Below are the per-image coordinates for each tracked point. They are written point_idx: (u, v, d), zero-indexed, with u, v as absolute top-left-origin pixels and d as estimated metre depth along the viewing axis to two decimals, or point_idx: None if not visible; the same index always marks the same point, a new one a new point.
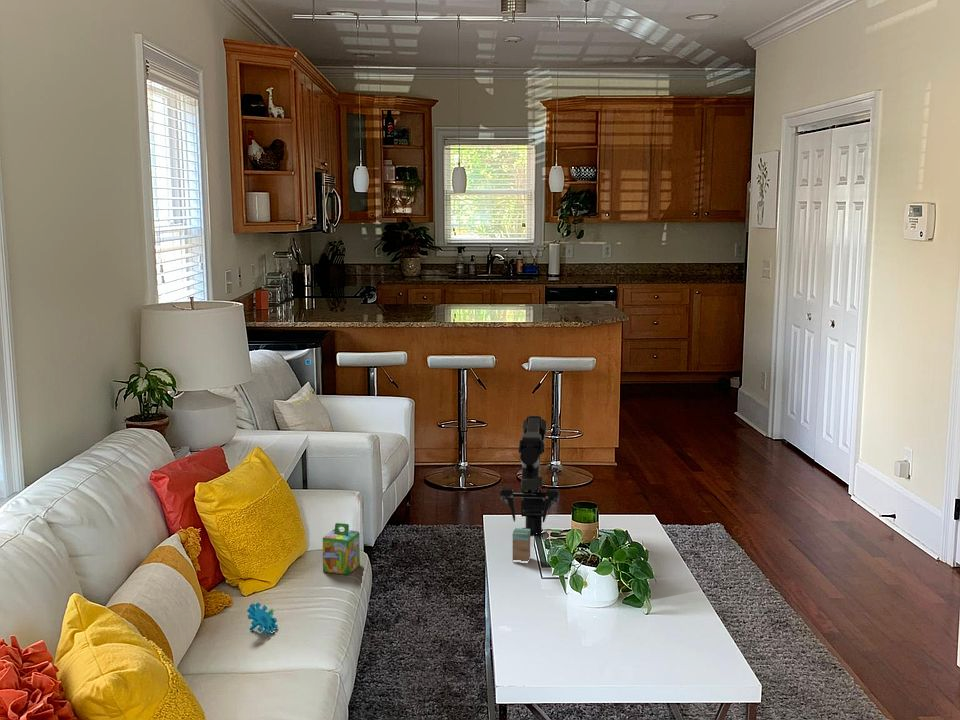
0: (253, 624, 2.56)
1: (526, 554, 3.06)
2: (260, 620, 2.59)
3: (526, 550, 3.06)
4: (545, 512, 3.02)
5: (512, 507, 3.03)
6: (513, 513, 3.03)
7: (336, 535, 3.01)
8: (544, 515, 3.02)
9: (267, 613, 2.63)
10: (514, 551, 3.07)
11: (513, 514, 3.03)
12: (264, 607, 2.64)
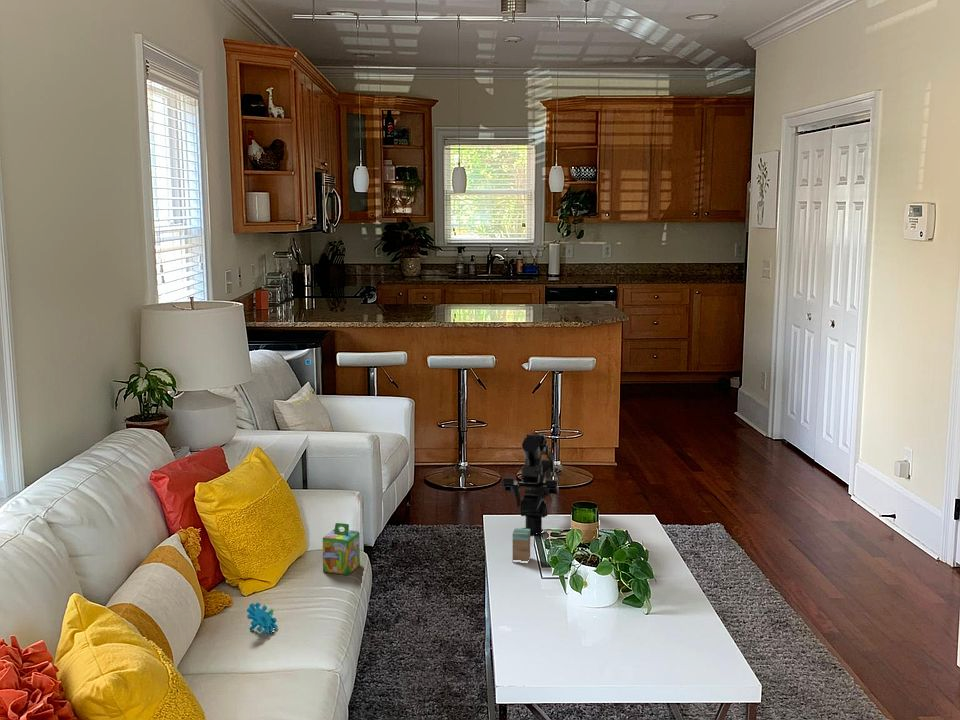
0: (252, 624, 2.56)
1: (526, 554, 3.06)
2: (260, 620, 2.59)
3: (526, 550, 3.06)
4: (539, 499, 3.19)
5: (517, 494, 3.21)
6: (517, 500, 3.20)
7: (336, 535, 3.01)
8: (538, 502, 3.19)
9: (267, 613, 2.63)
10: (514, 551, 3.07)
11: (517, 501, 3.20)
12: (264, 607, 2.64)
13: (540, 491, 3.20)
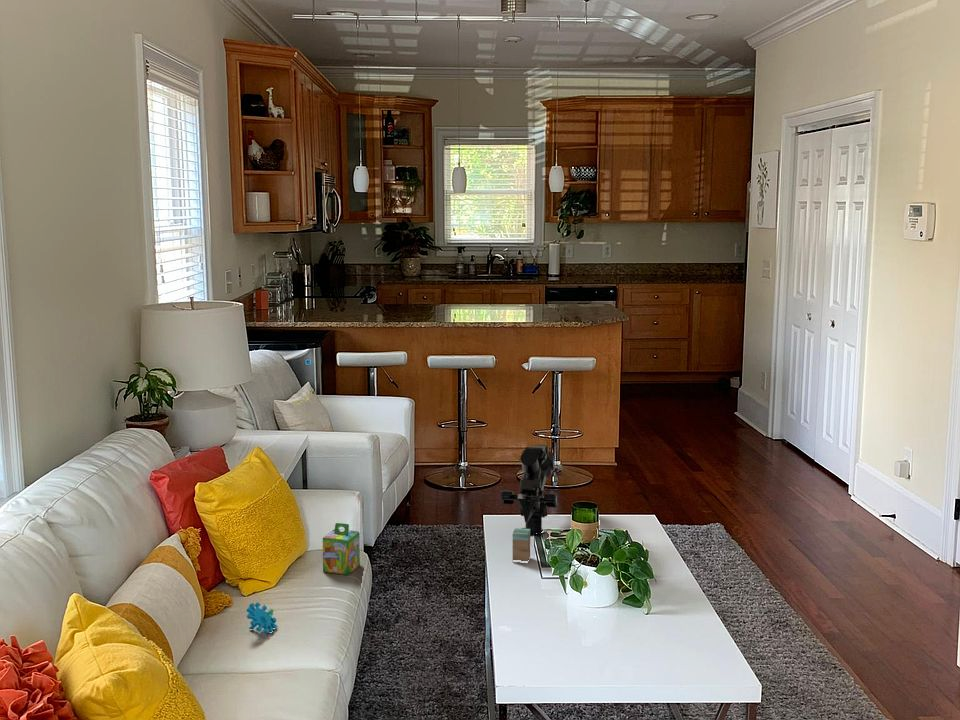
0: (252, 624, 2.56)
1: (526, 554, 3.06)
2: (259, 620, 2.59)
3: (526, 550, 3.06)
4: (529, 512, 3.17)
5: (524, 508, 3.18)
6: (525, 514, 3.17)
7: (336, 535, 3.01)
8: (528, 515, 3.17)
9: (267, 613, 2.63)
10: (514, 551, 3.07)
11: (525, 515, 3.17)
12: (264, 607, 2.64)
13: (530, 504, 3.18)
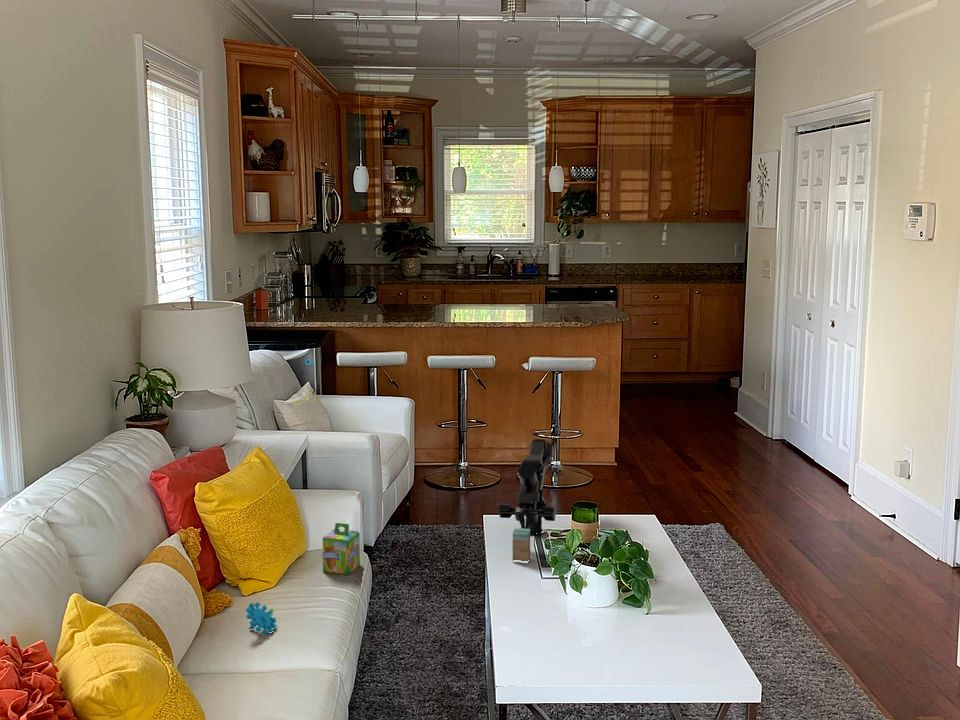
0: (251, 624, 2.56)
1: (526, 554, 3.06)
2: (259, 620, 2.59)
3: (526, 550, 3.06)
4: (527, 526, 3.14)
5: (522, 522, 3.14)
6: (522, 527, 3.14)
7: (336, 535, 3.01)
8: None
9: (266, 613, 2.63)
10: (514, 551, 3.07)
11: (522, 528, 3.13)
12: (264, 607, 2.64)
13: (528, 517, 3.14)
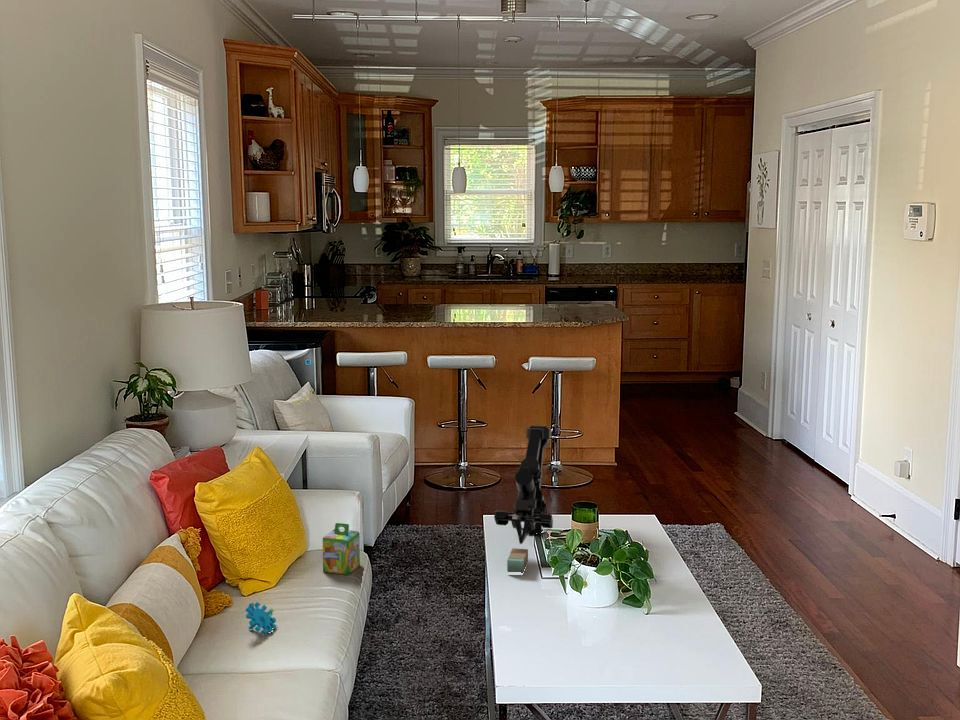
0: (251, 624, 2.56)
1: None
2: (258, 620, 2.59)
3: None
4: (524, 533, 3.07)
5: (519, 529, 3.08)
6: (519, 535, 3.07)
7: (336, 535, 3.01)
8: (522, 536, 3.07)
9: (266, 613, 2.63)
10: None
11: (519, 536, 3.07)
12: (263, 607, 2.64)
13: (525, 525, 3.08)
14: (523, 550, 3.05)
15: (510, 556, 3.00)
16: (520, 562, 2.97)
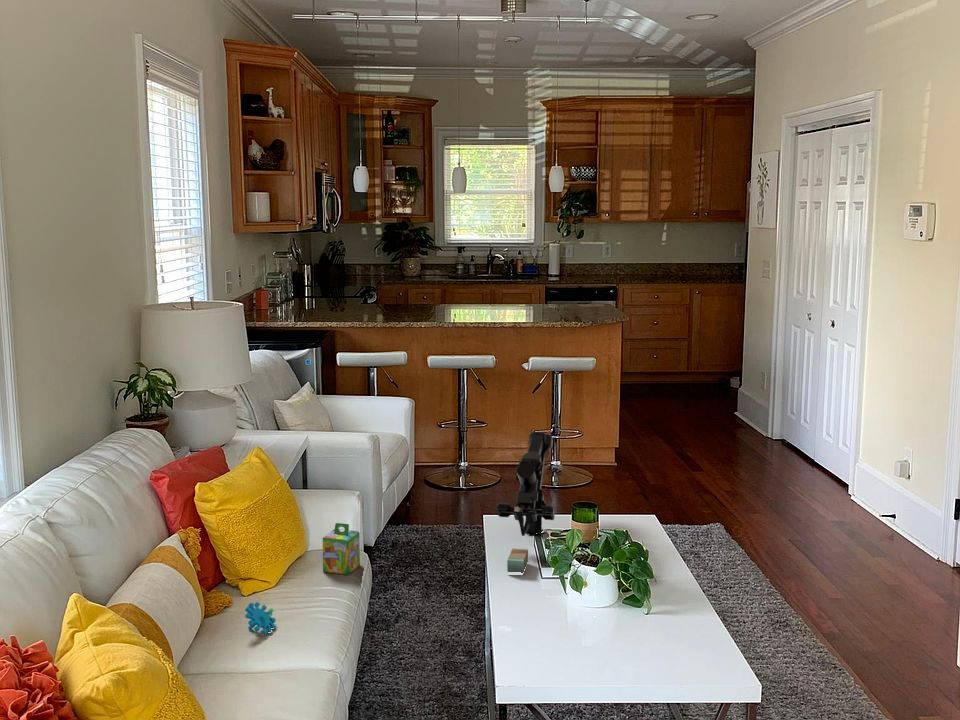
0: (250, 623, 2.56)
1: None
2: (258, 620, 2.59)
3: None
4: (526, 526, 3.11)
5: (521, 521, 3.12)
6: (521, 527, 3.11)
7: (336, 535, 3.01)
8: (524, 528, 3.11)
9: (266, 613, 2.63)
10: None
11: (521, 528, 3.11)
12: (263, 607, 2.64)
13: (527, 517, 3.12)
14: (523, 550, 3.05)
15: (510, 556, 3.00)
16: (520, 562, 2.97)
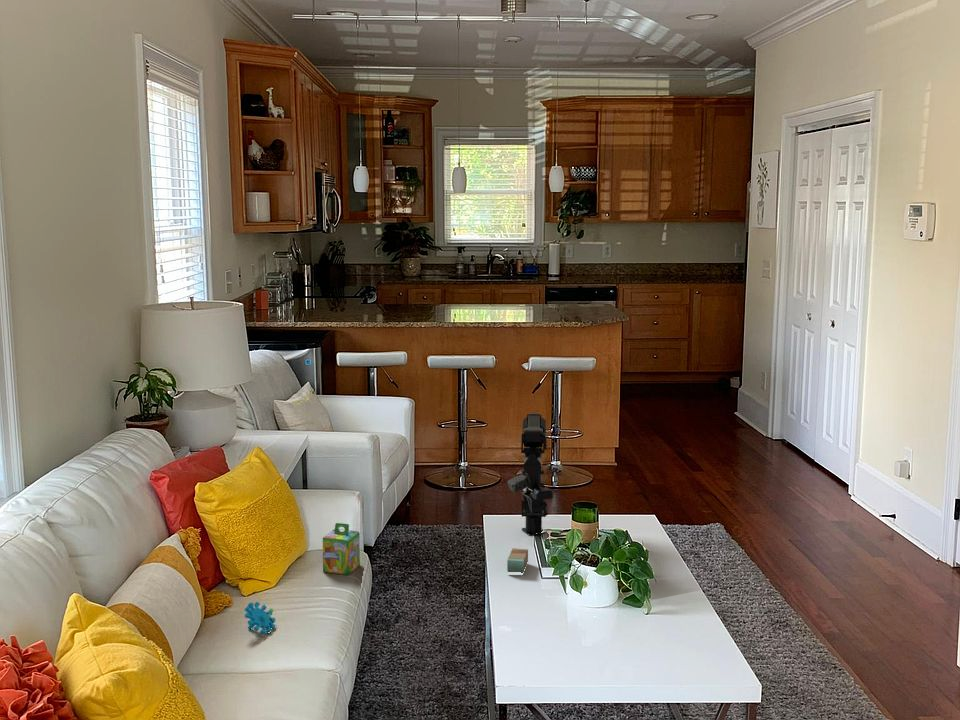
0: (249, 623, 2.56)
1: None
2: (257, 619, 2.59)
3: None
4: (531, 505, 3.14)
5: (528, 500, 3.15)
6: (529, 506, 3.15)
7: (336, 535, 3.01)
8: (531, 508, 3.14)
9: (266, 613, 2.63)
10: None
11: (529, 507, 3.15)
12: (263, 606, 2.65)
13: (529, 498, 3.13)
14: (523, 550, 3.05)
15: (510, 556, 3.00)
16: (520, 562, 2.97)
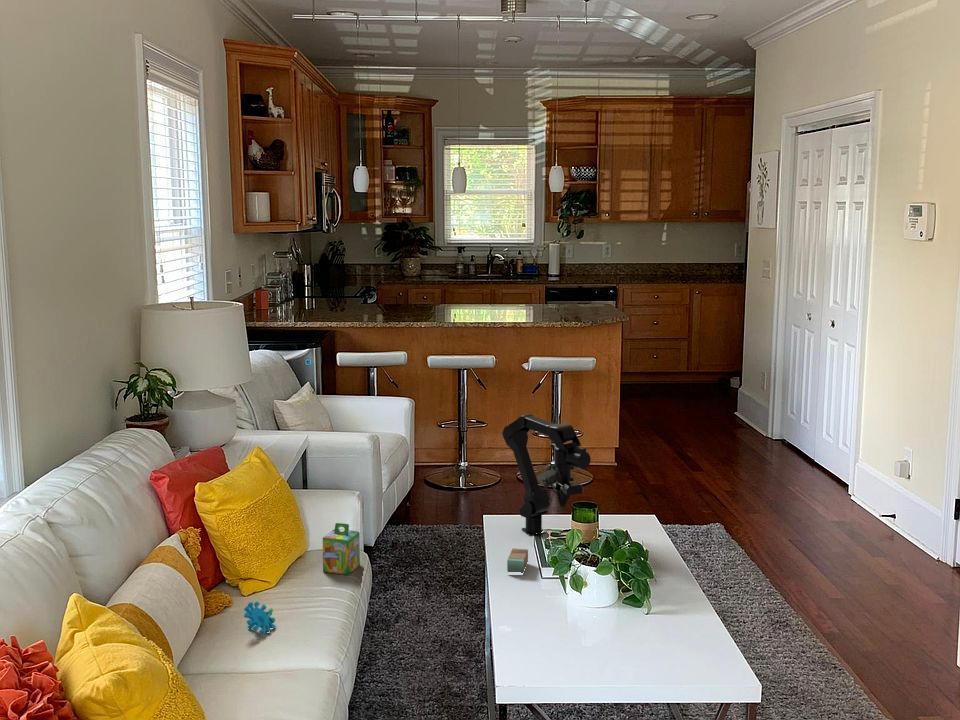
0: (248, 623, 2.57)
1: None
2: (256, 619, 2.59)
3: None
4: (560, 499, 3.20)
5: (557, 494, 3.21)
6: (559, 500, 3.22)
7: (336, 535, 3.01)
8: (560, 502, 3.21)
9: (265, 612, 2.64)
10: None
11: (559, 501, 3.22)
12: (263, 606, 2.65)
13: (559, 492, 3.19)
14: (523, 550, 3.05)
15: (510, 556, 3.00)
16: (520, 562, 2.97)
